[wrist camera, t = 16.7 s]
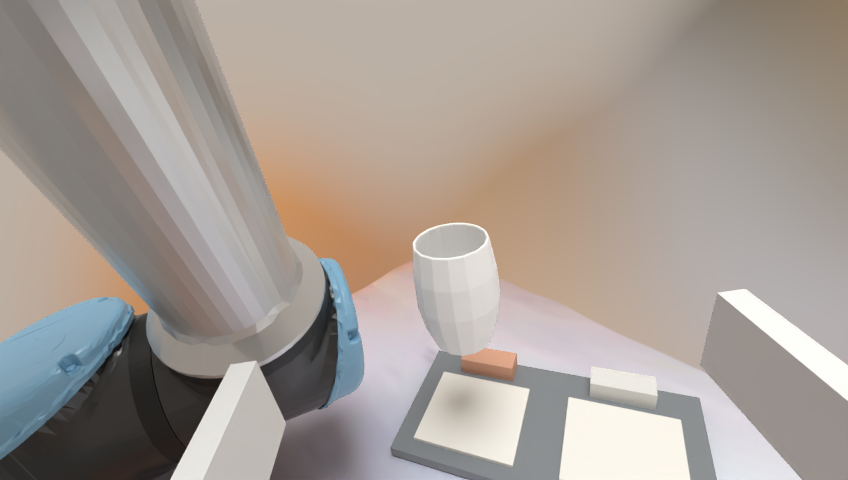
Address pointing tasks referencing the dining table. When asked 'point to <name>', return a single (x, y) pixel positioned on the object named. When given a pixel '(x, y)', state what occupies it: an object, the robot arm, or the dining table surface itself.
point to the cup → (457, 286)
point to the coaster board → (551, 424)
